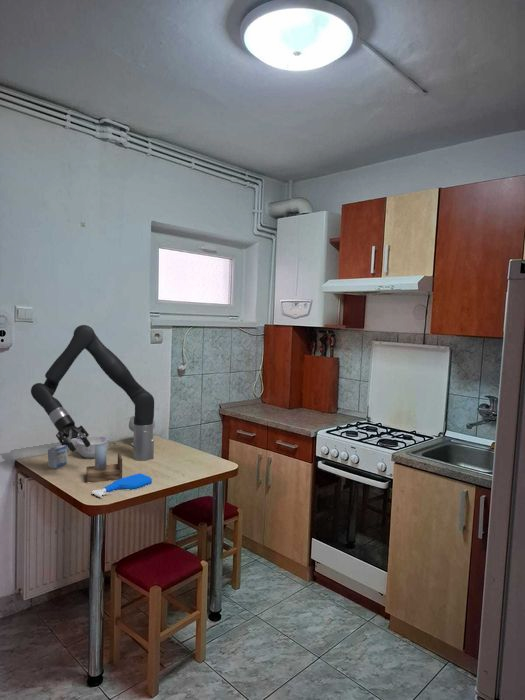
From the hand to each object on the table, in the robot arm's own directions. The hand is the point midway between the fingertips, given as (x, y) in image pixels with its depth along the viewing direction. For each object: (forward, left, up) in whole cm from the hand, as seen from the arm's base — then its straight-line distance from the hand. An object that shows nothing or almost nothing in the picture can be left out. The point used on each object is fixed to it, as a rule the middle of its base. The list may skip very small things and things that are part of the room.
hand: (81, 448), depth 208 cm
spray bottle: (-15, +23, -12) cm, 30 cm away
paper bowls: (-6, -29, -12) cm, 32 cm away
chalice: (-32, -43, -12) cm, 55 cm away
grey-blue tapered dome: (-7, +7, -8) cm, 13 cm away
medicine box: (+10, -17, -12) cm, 23 cm away
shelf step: (-9, +7, -12) cm, 16 cm away
